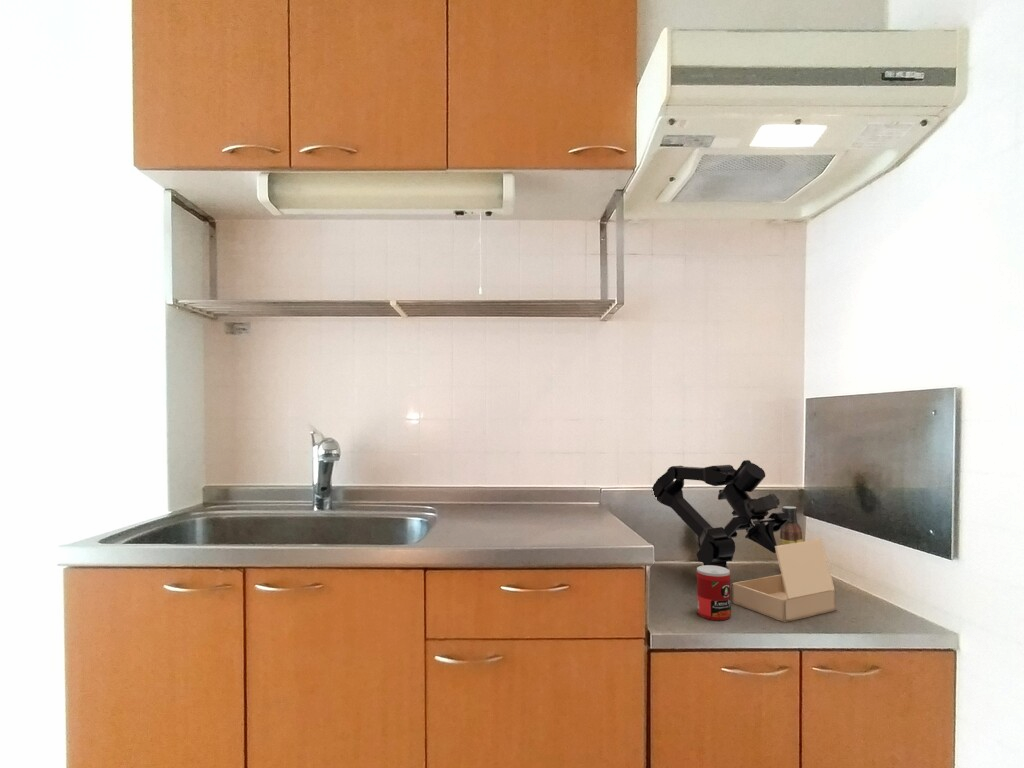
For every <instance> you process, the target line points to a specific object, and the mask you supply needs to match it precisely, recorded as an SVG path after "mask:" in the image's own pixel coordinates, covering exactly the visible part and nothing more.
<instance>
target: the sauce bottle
mask: <svg viewBox="0 0 1024 768" xmlns="http://www.w3.org/2000/svg"><path fill="white" fill-rule="evenodd" d="M781 509H782V510H781V512H785V513H786V514H787V516H788V517H789V518H790V519H789V520H788V522H787V523H786V524H785V525H784V526H783V527H782V528H781V529H780V530H779V531H780V533H779V537H780V538H779V540H780V545H785V544H792V543H798V542H804V539H803V531H802V528H801V526H800V524H799V523H798V519H797V517H798V515H797V512H798V507H796V506H790V505H787V506H786V505H784V506H782V508H781Z"/></svg>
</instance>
